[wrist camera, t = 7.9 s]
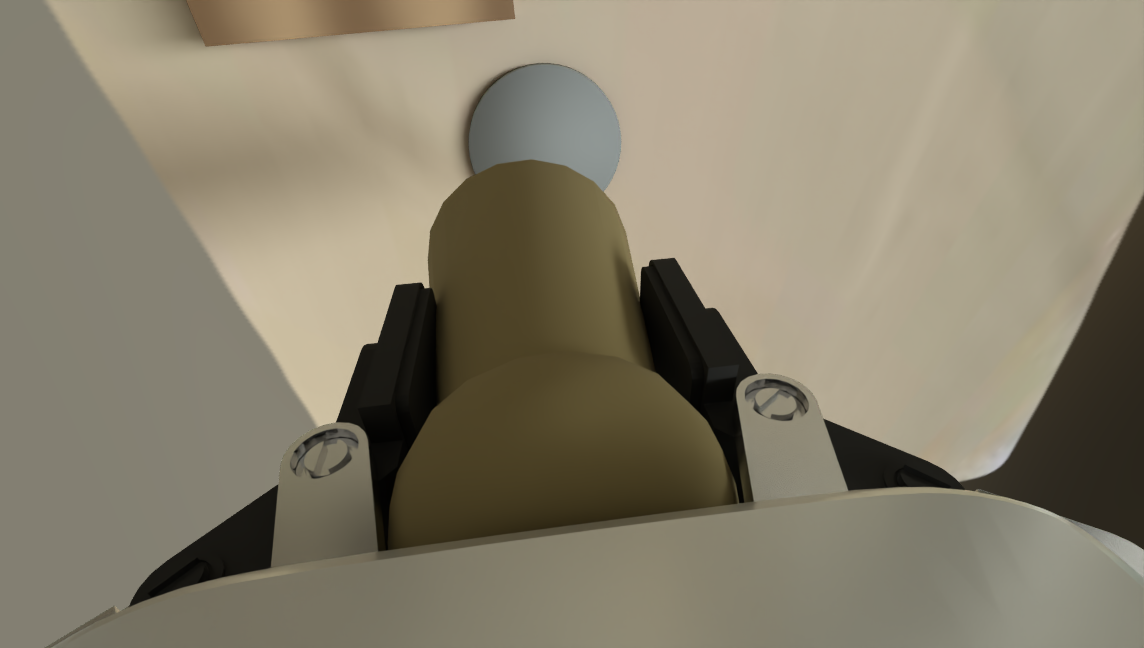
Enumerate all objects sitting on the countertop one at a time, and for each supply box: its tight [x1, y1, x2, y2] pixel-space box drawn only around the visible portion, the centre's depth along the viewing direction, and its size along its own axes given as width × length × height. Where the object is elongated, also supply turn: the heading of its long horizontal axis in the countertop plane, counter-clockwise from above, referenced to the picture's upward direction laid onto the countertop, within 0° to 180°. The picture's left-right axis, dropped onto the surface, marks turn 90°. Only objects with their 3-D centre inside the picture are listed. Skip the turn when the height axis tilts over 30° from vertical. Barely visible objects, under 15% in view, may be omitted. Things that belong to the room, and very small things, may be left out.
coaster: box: [469, 63, 621, 192], centre depth 31 cm, size 9×9×1 cm
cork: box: [388, 159, 739, 550], centre depth 11 cm, size 6×6×11 cm
